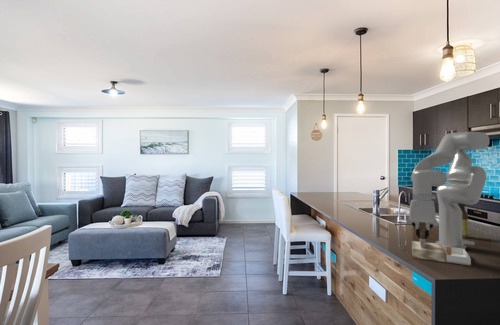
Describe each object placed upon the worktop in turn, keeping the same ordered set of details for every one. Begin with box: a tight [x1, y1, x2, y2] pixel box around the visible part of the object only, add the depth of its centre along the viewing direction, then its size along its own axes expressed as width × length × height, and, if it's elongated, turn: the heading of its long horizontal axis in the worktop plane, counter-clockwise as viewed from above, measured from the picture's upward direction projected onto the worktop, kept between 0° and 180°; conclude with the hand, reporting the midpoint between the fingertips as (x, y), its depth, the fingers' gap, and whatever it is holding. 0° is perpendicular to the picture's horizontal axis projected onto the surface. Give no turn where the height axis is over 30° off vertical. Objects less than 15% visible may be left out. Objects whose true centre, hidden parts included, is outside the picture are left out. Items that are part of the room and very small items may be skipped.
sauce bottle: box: [457, 203, 470, 239], centre depth 158 cm, size 7×6×20 cm
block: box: [446, 245, 451, 255], centre depth 124 cm, size 4×4×2 cm
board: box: [411, 240, 447, 263], centre depth 127 cm, size 12×14×4 cm
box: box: [443, 247, 472, 267], centre depth 122 cm, size 8×14×3 cm, turn 151°
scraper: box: [419, 223, 426, 248], centre depth 128 cm, size 2×9×10 cm, turn 151°
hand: (422, 237), depth 128 cm, fingers closed on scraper, 2 cm apart
